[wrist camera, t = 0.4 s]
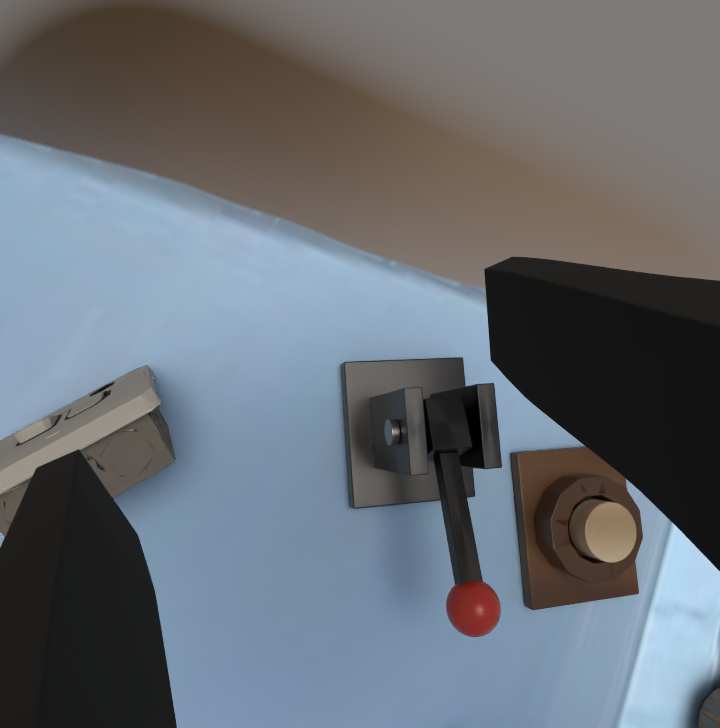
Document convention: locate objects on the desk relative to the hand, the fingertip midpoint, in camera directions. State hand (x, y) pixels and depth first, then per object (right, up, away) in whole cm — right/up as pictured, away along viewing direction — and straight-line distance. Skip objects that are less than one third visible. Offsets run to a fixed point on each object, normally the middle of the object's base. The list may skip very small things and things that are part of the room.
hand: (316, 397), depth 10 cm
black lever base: (+4, -4, +28) cm, 28 cm away
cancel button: (+16, -10, +27) cm, 33 cm away
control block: (+15, -10, +30) cm, 35 cm away
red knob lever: (+5, -8, +21) cm, 23 cm away
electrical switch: (-14, -4, +24) cm, 28 cm away
